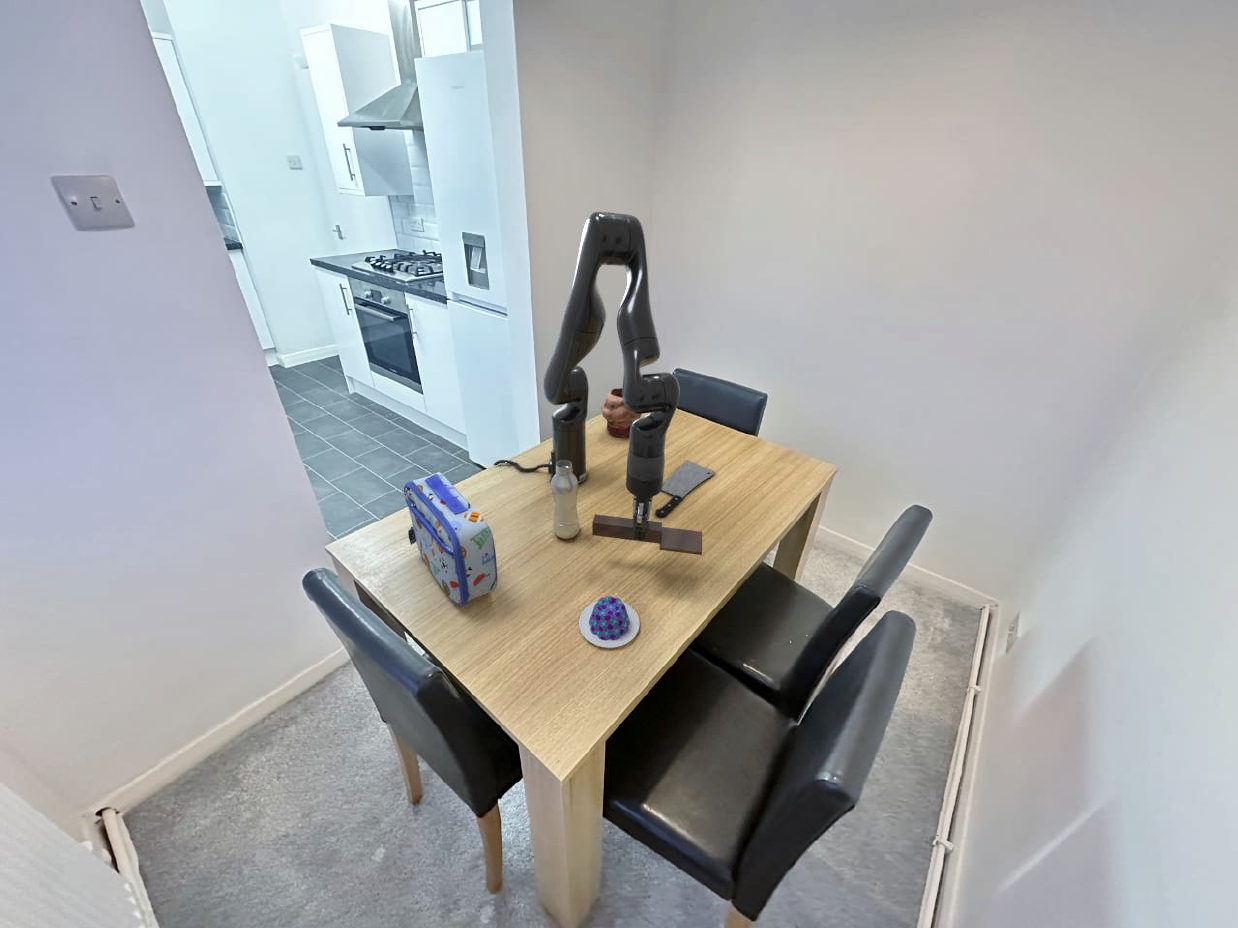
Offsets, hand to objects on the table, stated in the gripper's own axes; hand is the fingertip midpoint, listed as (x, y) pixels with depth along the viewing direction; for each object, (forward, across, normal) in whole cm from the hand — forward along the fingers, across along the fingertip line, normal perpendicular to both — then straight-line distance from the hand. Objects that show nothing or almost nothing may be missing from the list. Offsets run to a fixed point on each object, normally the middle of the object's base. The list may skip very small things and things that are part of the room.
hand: (640, 534), depth 108 cm
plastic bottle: (+9, -8, -19) cm, 22 cm away
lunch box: (+9, +10, -40) cm, 42 cm away
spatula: (+1, 0, +2) cm, 2 cm away
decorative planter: (+10, -66, -12) cm, 68 cm away
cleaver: (+9, -33, +7) cm, 35 cm away
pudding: (+9, +18, -4) cm, 21 cm away
